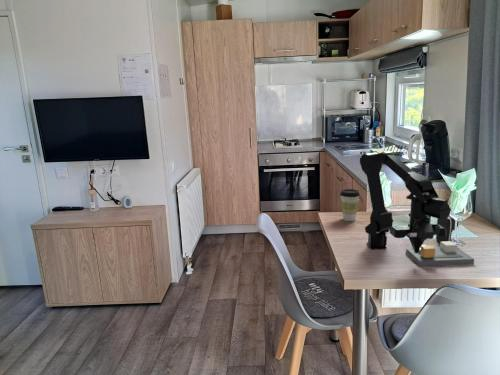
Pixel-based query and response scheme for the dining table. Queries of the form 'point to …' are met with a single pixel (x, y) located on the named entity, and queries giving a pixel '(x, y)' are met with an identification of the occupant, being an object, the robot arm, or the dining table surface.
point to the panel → (441, 258)
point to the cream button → (447, 246)
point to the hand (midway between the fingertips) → (415, 252)
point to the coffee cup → (349, 203)
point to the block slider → (427, 251)
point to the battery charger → (448, 225)
